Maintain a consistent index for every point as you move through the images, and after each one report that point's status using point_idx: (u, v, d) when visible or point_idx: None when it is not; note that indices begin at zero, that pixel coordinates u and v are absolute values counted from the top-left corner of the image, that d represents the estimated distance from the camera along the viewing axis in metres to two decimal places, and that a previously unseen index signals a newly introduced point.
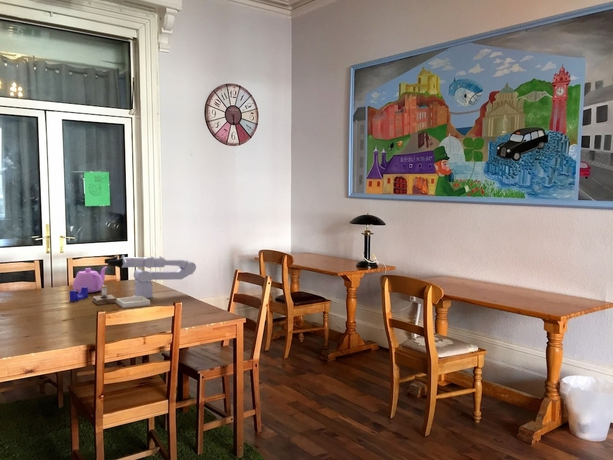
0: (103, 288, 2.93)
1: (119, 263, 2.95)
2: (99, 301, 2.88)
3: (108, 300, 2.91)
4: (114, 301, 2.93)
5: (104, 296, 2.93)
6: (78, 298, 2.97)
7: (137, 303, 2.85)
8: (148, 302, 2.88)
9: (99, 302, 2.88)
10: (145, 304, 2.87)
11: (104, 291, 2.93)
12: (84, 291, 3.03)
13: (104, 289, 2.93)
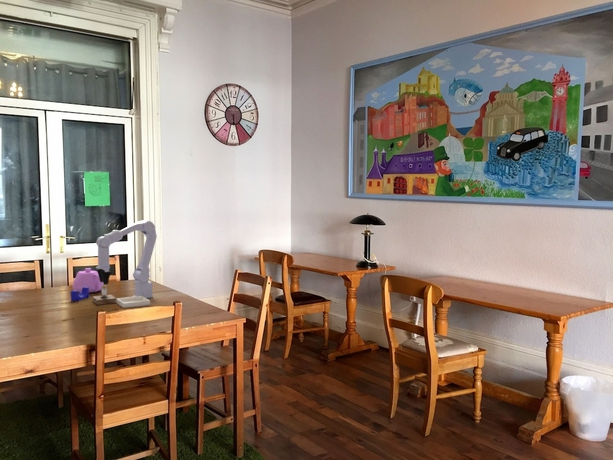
0: (103, 288, 2.93)
1: (106, 273, 2.90)
2: (99, 301, 2.88)
3: (108, 300, 2.91)
4: (114, 301, 2.93)
5: (104, 296, 2.93)
6: (79, 298, 2.97)
7: (137, 303, 2.85)
8: (148, 302, 2.88)
9: (99, 302, 2.88)
10: (145, 304, 2.87)
11: (104, 291, 2.93)
12: (85, 291, 3.03)
13: (104, 289, 2.93)
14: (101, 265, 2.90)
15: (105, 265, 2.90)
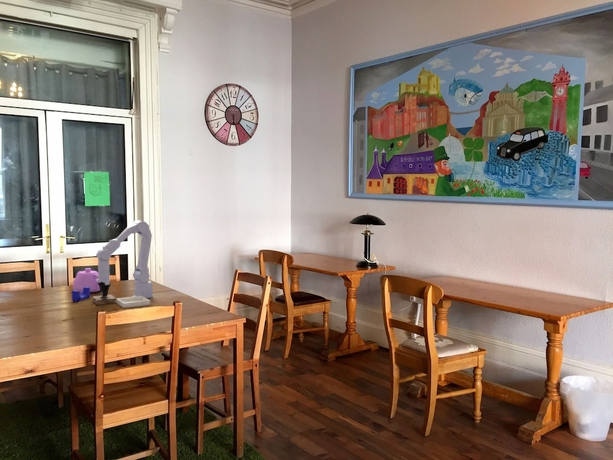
0: None
1: (105, 285, 2.92)
2: (99, 301, 2.88)
3: (108, 300, 2.91)
4: (114, 301, 2.93)
5: (104, 296, 2.93)
6: (80, 298, 2.97)
7: (137, 303, 2.85)
8: (148, 302, 2.88)
9: (99, 302, 2.88)
10: (145, 304, 2.87)
11: None
12: (86, 291, 3.03)
13: None
14: (101, 278, 2.90)
15: (105, 278, 2.91)
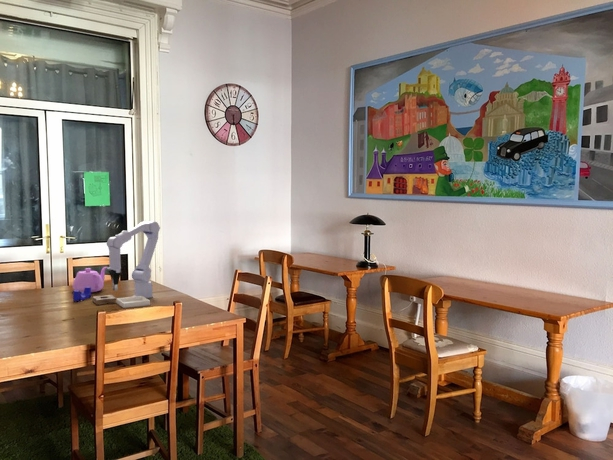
0: None
1: (116, 273, 2.90)
2: (99, 301, 2.88)
3: (108, 300, 2.91)
4: (114, 301, 2.93)
5: None
6: (81, 298, 2.97)
7: (137, 303, 2.85)
8: (148, 302, 2.88)
9: (99, 302, 2.88)
10: (145, 304, 2.87)
11: None
12: (87, 291, 3.03)
13: None
14: (112, 266, 2.88)
15: (116, 266, 2.89)
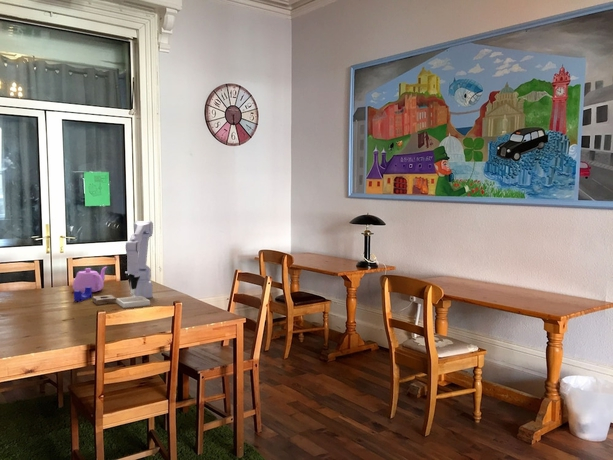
0: None
1: (134, 278, 2.87)
2: (99, 301, 2.88)
3: (108, 300, 2.91)
4: (114, 301, 2.93)
5: (132, 289, 2.88)
6: (82, 298, 2.97)
7: (137, 303, 2.85)
8: (148, 302, 2.88)
9: (99, 302, 2.88)
10: (145, 304, 2.87)
11: None
12: (88, 291, 3.03)
13: None
14: (130, 270, 2.86)
15: (134, 270, 2.87)
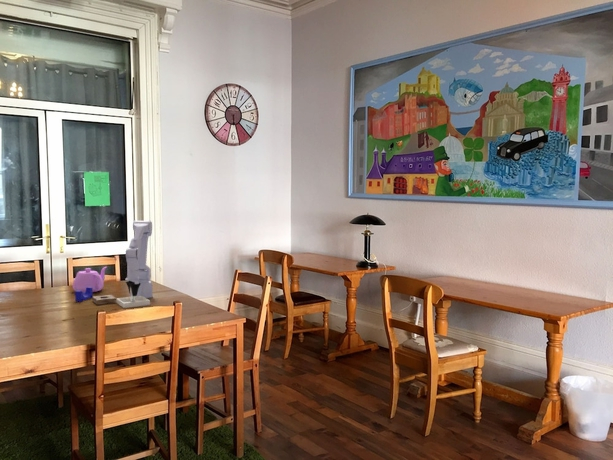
0: None
1: (135, 285, 2.87)
2: (99, 301, 2.88)
3: (108, 300, 2.91)
4: (114, 301, 2.93)
5: (132, 297, 2.89)
6: (83, 298, 2.97)
7: (137, 303, 2.85)
8: (148, 302, 2.88)
9: (99, 302, 2.88)
10: (145, 304, 2.87)
11: None
12: (89, 291, 3.03)
13: None
14: (130, 277, 2.86)
15: (134, 277, 2.87)
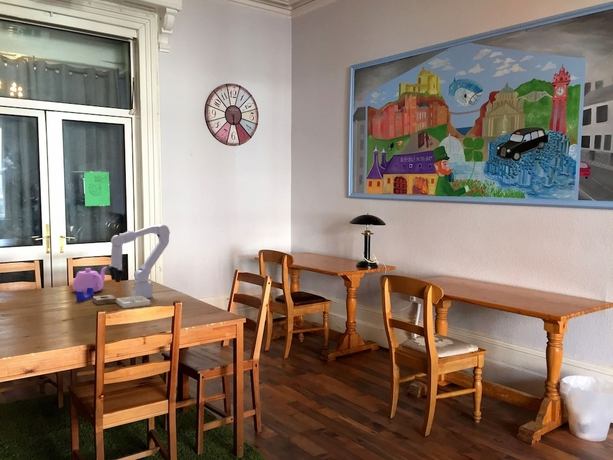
0: (131, 289, 2.88)
1: (118, 271, 2.96)
2: (99, 301, 2.88)
3: (108, 300, 2.91)
4: (114, 301, 2.93)
5: (132, 297, 2.89)
6: (84, 298, 2.97)
7: (137, 303, 2.85)
8: (148, 302, 2.88)
9: (99, 302, 2.88)
10: (145, 304, 2.87)
11: (132, 292, 2.89)
12: (90, 291, 3.03)
13: (132, 290, 2.88)
14: (114, 263, 2.97)
15: (118, 263, 2.97)
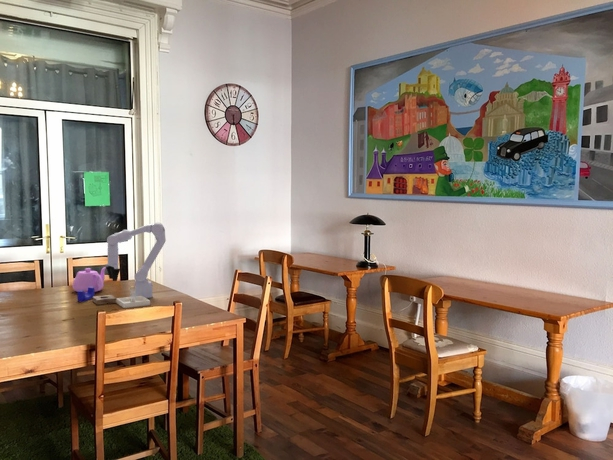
0: (131, 289, 2.88)
1: (115, 270, 3.00)
2: (99, 301, 2.88)
3: (108, 300, 2.91)
4: (114, 301, 2.93)
5: (132, 297, 2.89)
6: (85, 298, 2.97)
7: (137, 303, 2.85)
8: (148, 302, 2.88)
9: (99, 302, 2.88)
10: (145, 304, 2.87)
11: (132, 292, 2.89)
12: (91, 291, 3.03)
13: (132, 290, 2.88)
14: (110, 262, 3.00)
15: (114, 262, 3.01)
